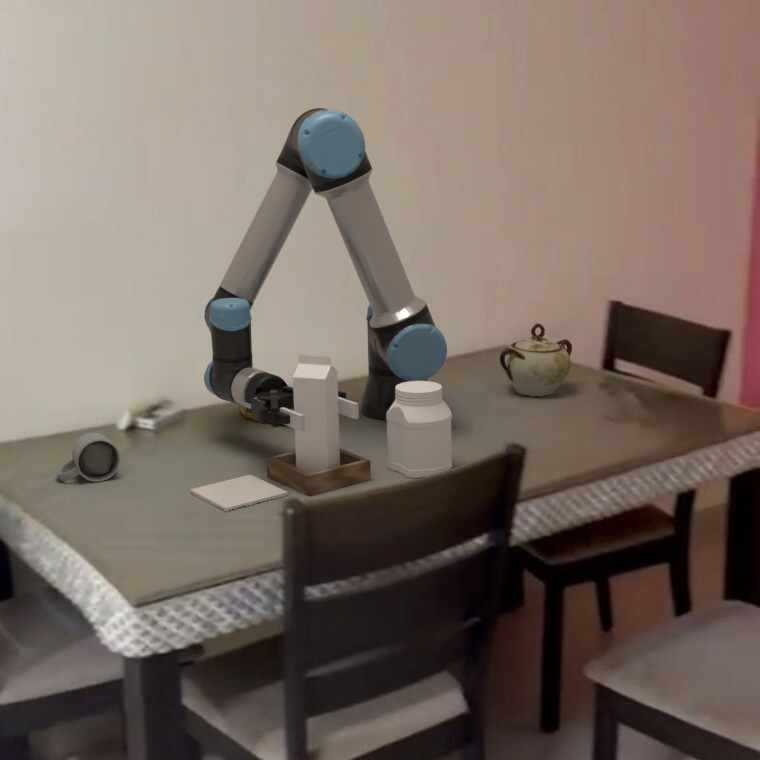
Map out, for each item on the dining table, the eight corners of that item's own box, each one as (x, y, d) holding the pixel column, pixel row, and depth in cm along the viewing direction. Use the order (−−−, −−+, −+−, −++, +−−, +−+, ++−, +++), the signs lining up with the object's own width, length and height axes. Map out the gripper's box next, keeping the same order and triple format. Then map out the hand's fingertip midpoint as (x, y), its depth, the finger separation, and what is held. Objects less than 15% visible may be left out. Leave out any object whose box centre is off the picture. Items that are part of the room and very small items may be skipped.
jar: (379, 465, 225) (377, 384, 221) (421, 455, 230) (420, 376, 226) (417, 481, 216) (416, 397, 212) (460, 470, 221) (460, 388, 217)
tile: (250, 477, 219) (250, 474, 219) (288, 495, 210) (287, 492, 210) (190, 492, 212) (189, 489, 212) (226, 511, 203) (225, 508, 203)
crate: (327, 461, 227) (327, 443, 226) (370, 479, 217) (370, 460, 216) (267, 476, 220) (266, 457, 219) (308, 496, 210) (308, 476, 209)
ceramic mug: (113, 465, 228) (109, 425, 226) (122, 478, 220) (118, 437, 218) (53, 475, 224) (49, 434, 222) (61, 488, 216) (56, 446, 215)
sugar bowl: (548, 378, 283) (549, 313, 279) (593, 391, 271) (595, 323, 267) (478, 391, 273) (478, 324, 269) (522, 406, 261) (523, 336, 257)
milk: (309, 472, 222) (304, 350, 217) (341, 474, 220) (337, 352, 215) (296, 482, 217) (291, 358, 211) (329, 485, 215) (324, 360, 209)
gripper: (313, 400, 237) (384, 425, 220) (207, 423, 224) (274, 451, 207) (312, 362, 235) (383, 384, 218) (204, 382, 222) (272, 408, 205)
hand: (330, 417), depth 212 cm, fingers open, 10 cm apart
